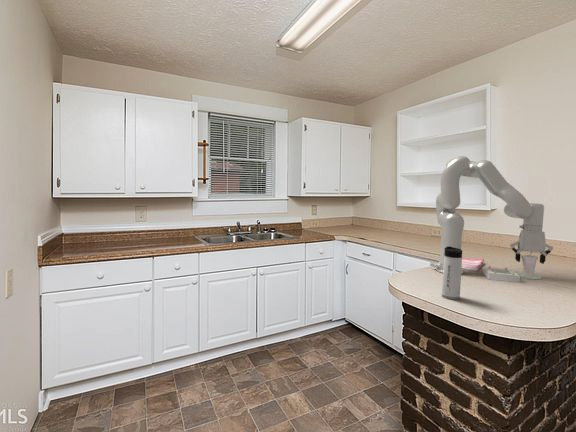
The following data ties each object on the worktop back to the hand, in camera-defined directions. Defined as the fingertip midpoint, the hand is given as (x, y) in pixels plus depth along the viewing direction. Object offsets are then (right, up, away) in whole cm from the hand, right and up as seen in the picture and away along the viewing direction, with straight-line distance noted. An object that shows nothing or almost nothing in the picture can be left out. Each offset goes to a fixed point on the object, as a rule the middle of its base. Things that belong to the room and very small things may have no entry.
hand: (529, 262), depth 149 cm
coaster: (0, -7, +1) cm, 7 cm away
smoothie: (0, -7, +1) cm, 7 cm away
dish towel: (-19, -6, +24) cm, 31 cm away
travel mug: (-56, -10, -29) cm, 64 cm away
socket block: (-16, -7, -2) cm, 18 cm away
